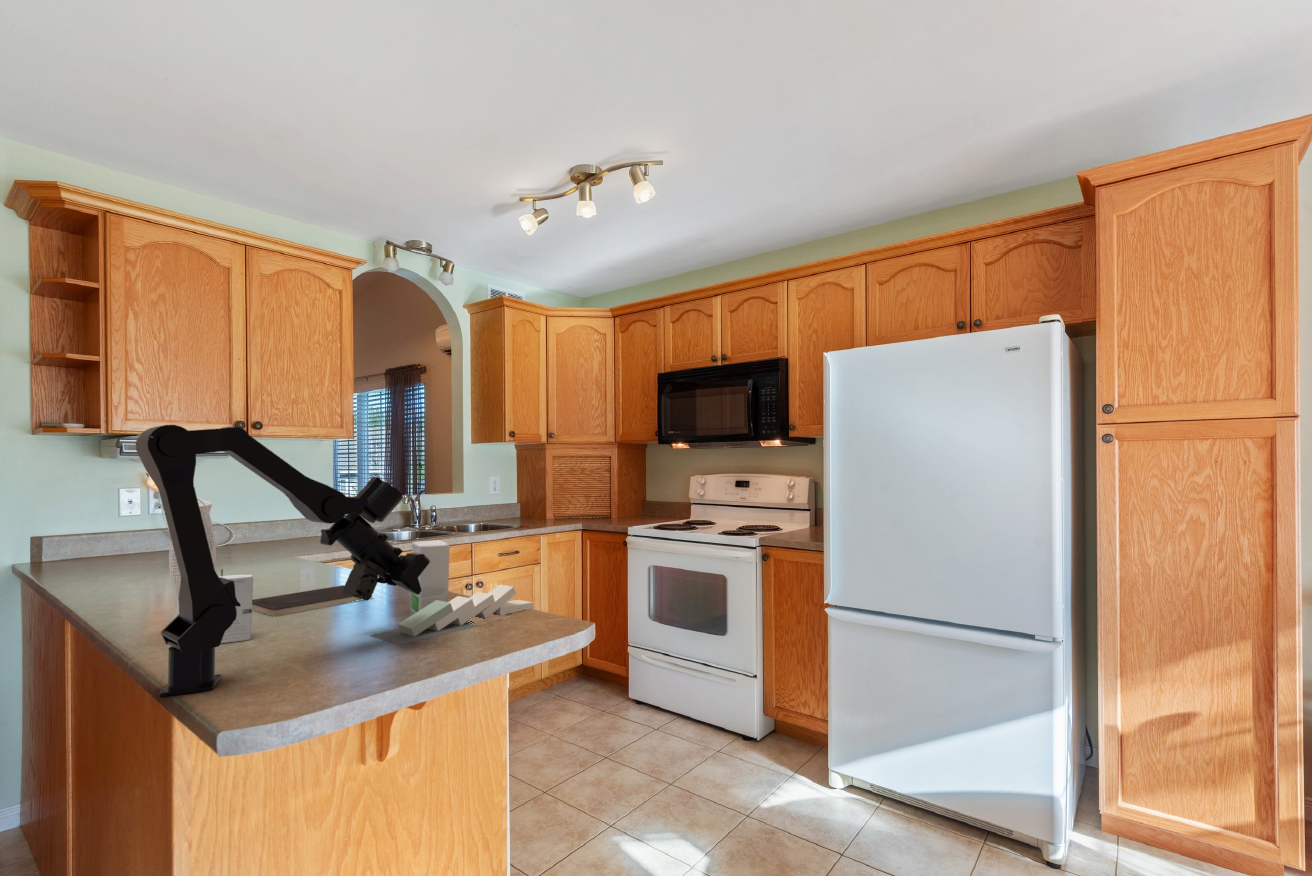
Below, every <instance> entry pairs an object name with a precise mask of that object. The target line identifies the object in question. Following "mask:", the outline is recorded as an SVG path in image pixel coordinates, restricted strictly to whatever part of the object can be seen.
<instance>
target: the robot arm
mask: <svg viewBox="0 0 1312 876" xmlns="http://www.w3.org/2000/svg"><path fill="white" fill-rule="evenodd" d="M135 451H136V452H137V455H138V457H139V459H140V462H141V463H142V466H143V467H144V469H145V471H146V473H147V474H148V475H149V477H150V478H151V480H152V481H153V483H154V484H155V486H156V488H157V489H158V492H159V497H160V500H161V505H162V509H163V511H164V516H165V519H166V525H167V528H168V531H169V532H168V533H169V536H170V541H171V540H172V544H173V548H174V552H175V556H176V559H177V563H178V567H179V571H180V575H181V583H180V590H179V615H178V616H177V617H176V618H175V619H174V618H173V619H172V621H171V622H169V623H168V624H167V625H166V626H165V627H164V628H163V629H162V630H161V632H160V635H161V637H162V639H163V641H164V644H165V645H168V646H169V647H168V656H167V657H168V659H167V660H168V664H167V667H168V670H167V671H168V673H167V684H166V685H165V686H164V687H163V688H162V689H161V690H160V691H159V694H158V695H159V696H160V697H164V696H172V695H181V694H189V693H196V692H204V691H210V690H214V688H215V687H216V685H217V684H218V683H219V681H220V680H222V678H223V677H222V676H223V675H222V673H217V674H216V648H217V647H220V646H221V644H222V643H221V641H222V638H223V636H224V633H225V631H226V630H227V629H228V628H229V627H230V626H231V625H232V624H233V622H234V621H235V620H236V616H237V610H236V606H238V607H239V606H241V604H240V603H239V602H238V601H237V599H236V596H235V584H234V581H232V580H228V579H225V578H221V577H218V576H219V575H218V573H217V572H216V568H215V569H214V565H213V561H212V557H211V552H210V548H209V544H208V540H207V536H206V532H205V528H204V524H203V520H202V516H201V512H200V508H199V504H198V501H199V500H197V497H198V496H197V493H196V489H195V484H194V481H195V480H194V479H195V472H196V468H197V467H196V465H197V455H200V454H208V453H220V452H223V453H225V454H226V455H228V456H229V457H231V458H233V460H236V461H237V462H238V463H240V464H241V465H243V466H244V467H246V468H247V469H248V470H249V471H251V472H253V473H254V474H256V475H257V476H258V477H259V478H261V479H262V480H264V481H266V482H267V483H269V484H270V485H271V486H273V487H274V488H276V489H277V490H279V491H280V492H281V493H282V494H284V495H285V496H286V497H287V498H288V499H289V501H290V503H291V504H292V507H294V508H295V509H296V510H297V511H298V512H299V513H300V515H302V516H303V517H304V518H305V519H306V520H308V521H310V522H313V523H319V524H320V523H323V524H331V526H330V527H329V528H327V529H324V528H322V529H320V534H321V535H320V539H319V540H320V541H319V542H320V544H321V545H326V546H332V545H334V544H335V542H336V541H337V542H338V543H339V545H341V546H342V547H343V548H344V549H345V550H346V551H348V552H349V553H350V554H351V555H350V560H351V561H352V562H353V563H354V564H353V565H352V566H353V567H352V569H351V571H350V573H349V574H348V577H347V580H346V581H345V583H344V588H343V594H345V595H349V596H352V597H355V598H358V599H363V600H362V601H369V600H371V599H370V598H371V596H372V597H373V594H374V593H373V592H375V589H376V587H377V585H378V583H379V584H386V585H387V586H388V585H389V586H393V587H396V586H398V587H401V588H403V589H404V590H406V591H408V592H410V593H411V592H412V593H414V594H417V595H419V594H420V592H421V591H422V590H421V586H420V583H419V580H418V577H419V576H420V574H421V573H422V572H423V571H424V569H425V568H426V567H427V566H428V564H429V563H430V560H429V559H428V558H427V557H426V556H425V555H424V554H420V553H412V552H407V553H406V554H405V555H402V554H403V552H404V551H403V549H401V548H400V547H396V546H393V545H392V544H391V543H390V542H389V541H388V540H387V539H388V538H389V536H388V535H386V534H385V533H380V532H379V531H377V529H376V528H374V527H373V526H372V524H375V523H376V522H379V523H382V522H384V521H385V519H387V518H388V516H390V515H391V513H392V511H394V509H395V508H397V506H398V505H399V504H400V503H401V502H402V501H403V499H404V496H403V494H402V492H401V491H400V490H399V489H398V488H396V487H394V486H392V485H391V484H389V483H388V482H386V481H384V480H382V478H381V477H379V476H377V477H376V476H371V478H370V479H369V480H368V481H367V483H366V485H365V486H364V487H362V489H361V490H360V491H359V492H358V493H357V494H356V495H355V496H346V495H345V494H344V493H343V492H341V491H339V490H338V489H336V488H334V487H332V486H329V485H327V484H326V483H323V482H320V481H318V480H315V479H313V478H311V477H308V476H306V475H305V474H303V473H302V472H300V471H299V470H298V469H296V468H295V467H294V466H292V465H291V464H289V463H288V462H287V461H286V460H284V459H283V458H282V457H280V456H279V455H277V454H276V453H275V452H273V451H272V450H270V449H269V448H268V447H266V446H265V445H263V444H262V443H261V442H260V441H258V440H257V439H255V438H254V437H253V436H251V435H250V434H249V433H248V432H247V430H245V429H244V428H242V427H241V426H237V425H233V426H226V427H220V428H209V429H194V430H193V429H192V430H188V429H186V428H184V427H183V426H181V425H176V424H164V425H159V426H154V427H150V428H146V430H144V431H142V433H141V434H140V435H138V437H137V438H136V441H135ZM370 523H372V524H370Z"/></svg>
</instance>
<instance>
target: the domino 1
mask: <svg viewBox="0 0 1312 876" xmlns="http://www.w3.org/2000/svg"><path fill="white" fill-rule="evenodd" d="M448 602H449V601H448ZM448 602H443V601H439V600H436V601H434V602H432V603H431V604H429V605H428V606H426V607H425V608H423V609H421V610H420V611H418V612H417V613H413V614H412V615H410V616H408V617H407V618H406V619H404V620H402V621H401V622H399V623H398V624H397V627H398V629H400V632H401V633H404V634H408V635H411V636H414V637H415V636H416V635H418V634H419V633H421V632H422V631H424V630H425V629H427V628H428V627H430V626H431V625H433V624H434V623H436V622H437V621H439V620H441V619H442V618H444V617H445V616H447V615H448V614H450V613H451V612H453V608H452V606H451V603H448Z"/></svg>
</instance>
